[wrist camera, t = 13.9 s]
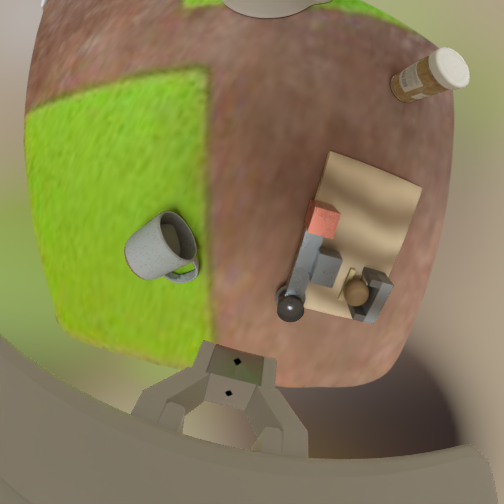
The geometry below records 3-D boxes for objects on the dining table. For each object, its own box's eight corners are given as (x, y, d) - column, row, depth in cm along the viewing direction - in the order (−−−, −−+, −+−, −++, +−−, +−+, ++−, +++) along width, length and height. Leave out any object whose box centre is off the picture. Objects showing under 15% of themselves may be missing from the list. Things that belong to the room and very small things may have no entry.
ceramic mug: (136, 232, 39) (110, 250, 32) (174, 204, 37) (151, 218, 30) (174, 286, 42) (156, 313, 35) (215, 264, 40) (202, 290, 33)
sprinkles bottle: (413, 108, 28) (468, 96, 16) (385, 93, 28) (433, 70, 16) (419, 83, 26) (473, 63, 14) (393, 67, 26) (439, 37, 14)
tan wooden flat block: (319, 148, 32) (326, 147, 27) (417, 186, 32) (436, 193, 27) (272, 301, 41) (270, 322, 36) (360, 322, 41) (368, 343, 36)
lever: (308, 197, 33) (312, 205, 28) (350, 210, 33) (361, 220, 28) (275, 306, 39) (273, 327, 34) (312, 315, 39) (315, 336, 34)
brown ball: (347, 272, 36) (352, 284, 32) (369, 279, 36) (376, 291, 32) (337, 294, 37) (342, 308, 34) (359, 300, 37) (365, 313, 34)
